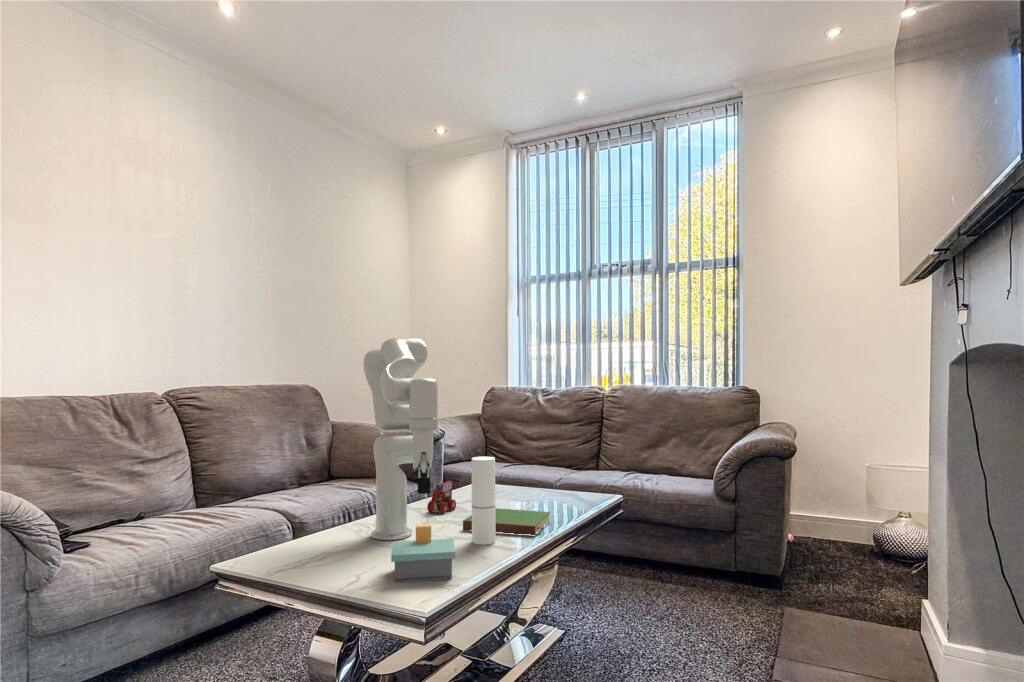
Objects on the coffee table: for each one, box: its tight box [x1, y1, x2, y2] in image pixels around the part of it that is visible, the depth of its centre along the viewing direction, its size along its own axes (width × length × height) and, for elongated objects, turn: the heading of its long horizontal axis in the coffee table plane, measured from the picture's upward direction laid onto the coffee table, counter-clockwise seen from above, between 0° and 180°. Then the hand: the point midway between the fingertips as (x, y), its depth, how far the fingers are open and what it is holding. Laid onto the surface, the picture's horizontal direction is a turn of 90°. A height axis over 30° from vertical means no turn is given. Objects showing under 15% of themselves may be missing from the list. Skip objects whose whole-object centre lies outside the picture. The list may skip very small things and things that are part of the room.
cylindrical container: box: [471, 456, 497, 545], centre depth 178 cm, size 7×7×25 cm
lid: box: [390, 524, 456, 563], centre depth 150 cm, size 12×16×6 cm
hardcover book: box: [462, 507, 551, 535], centre depth 194 cm, size 25×19×4 cm
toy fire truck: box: [426, 480, 457, 514], centre depth 216 cm, size 7×12×10 cm, turn 153°
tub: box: [394, 559, 453, 583], centre depth 150 cm, size 10×14×6 cm
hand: (423, 489), depth 155 cm, fingers open, 9 cm apart
